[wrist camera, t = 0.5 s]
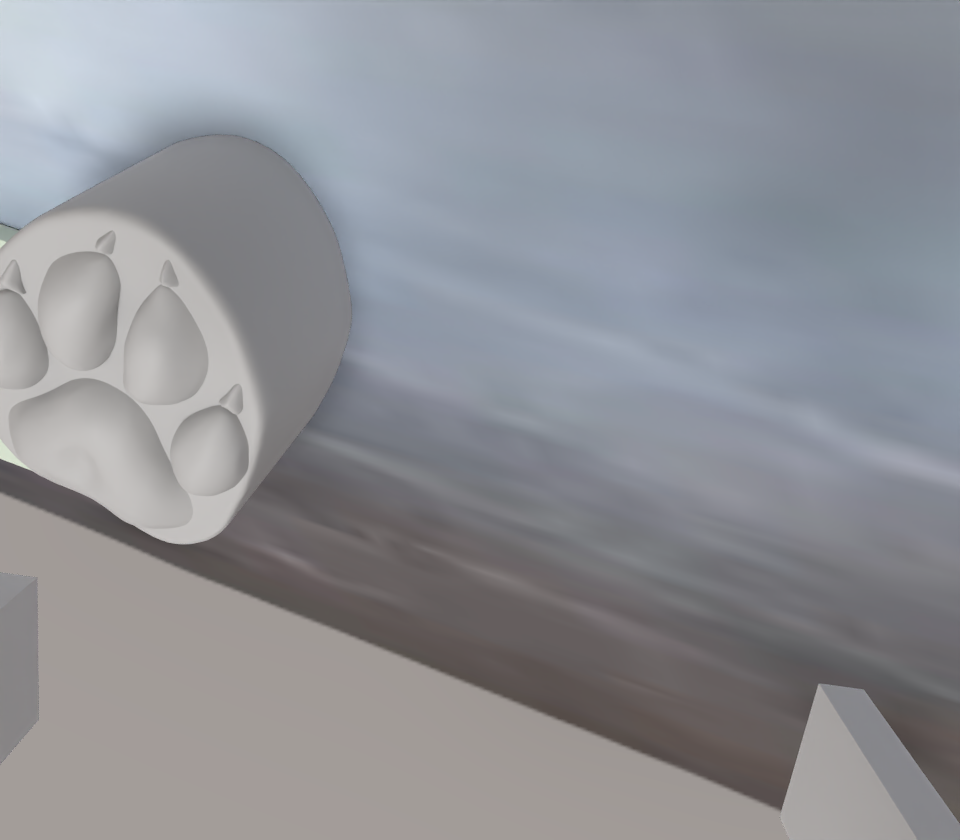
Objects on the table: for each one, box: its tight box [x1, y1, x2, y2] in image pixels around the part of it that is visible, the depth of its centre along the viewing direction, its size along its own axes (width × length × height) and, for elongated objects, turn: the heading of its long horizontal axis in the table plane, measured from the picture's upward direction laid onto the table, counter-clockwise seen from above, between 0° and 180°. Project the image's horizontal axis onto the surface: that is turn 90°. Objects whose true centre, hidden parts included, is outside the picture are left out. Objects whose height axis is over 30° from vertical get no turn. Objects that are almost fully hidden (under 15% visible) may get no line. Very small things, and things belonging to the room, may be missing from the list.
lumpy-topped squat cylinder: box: [0, 135, 352, 544], centre depth 29 cm, size 10×13×9 cm
